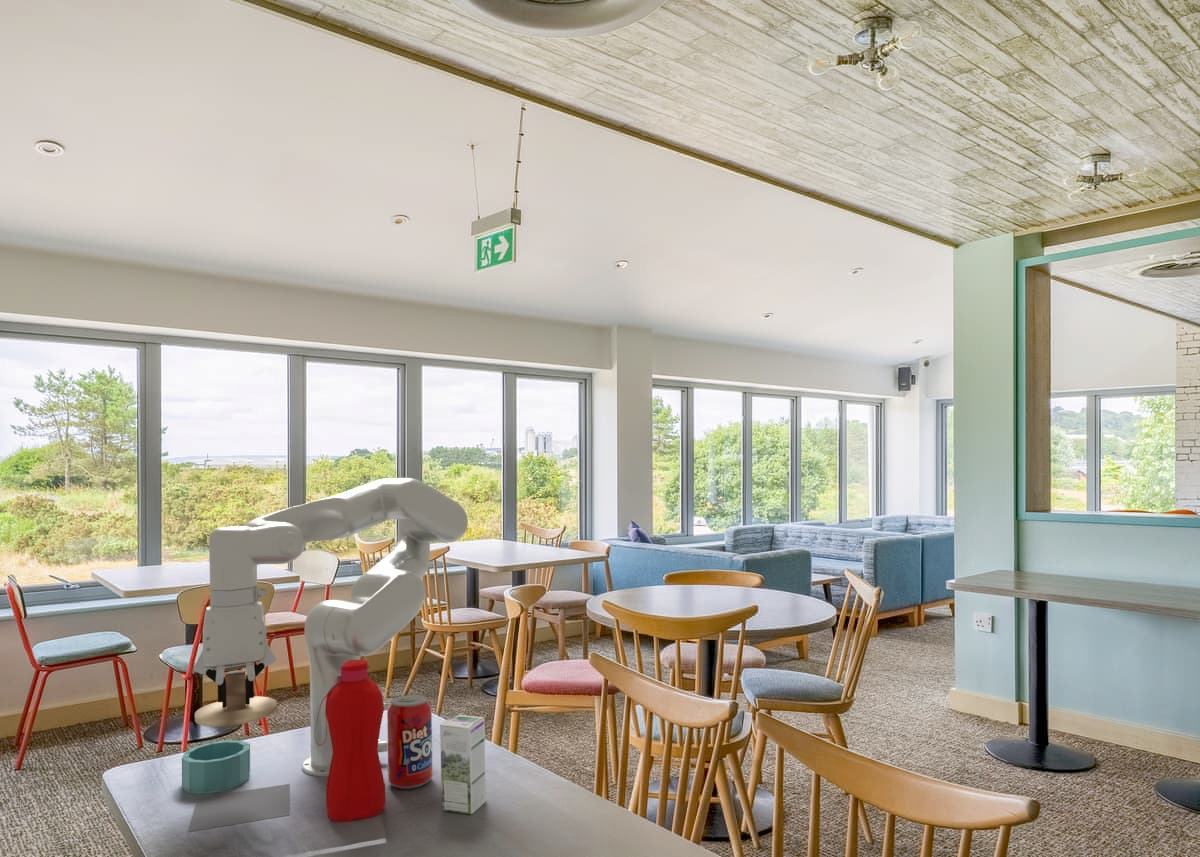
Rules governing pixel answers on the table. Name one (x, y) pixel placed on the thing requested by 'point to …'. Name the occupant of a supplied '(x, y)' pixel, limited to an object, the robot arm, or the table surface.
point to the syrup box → (463, 764)
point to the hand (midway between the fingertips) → (236, 703)
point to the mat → (241, 807)
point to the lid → (235, 705)
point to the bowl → (215, 766)
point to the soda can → (409, 741)
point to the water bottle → (354, 745)
